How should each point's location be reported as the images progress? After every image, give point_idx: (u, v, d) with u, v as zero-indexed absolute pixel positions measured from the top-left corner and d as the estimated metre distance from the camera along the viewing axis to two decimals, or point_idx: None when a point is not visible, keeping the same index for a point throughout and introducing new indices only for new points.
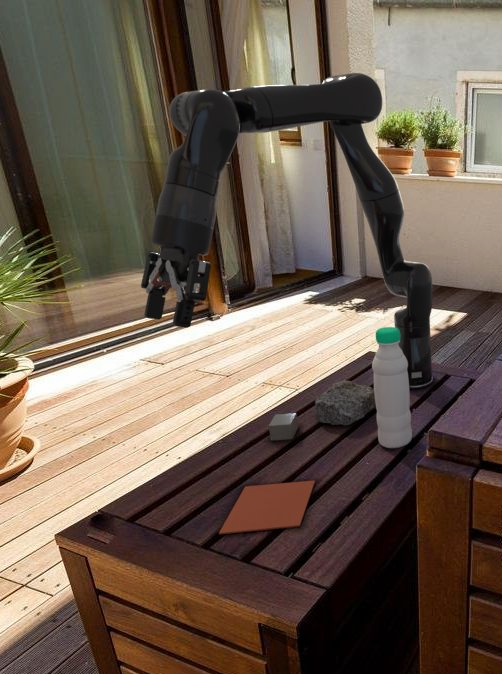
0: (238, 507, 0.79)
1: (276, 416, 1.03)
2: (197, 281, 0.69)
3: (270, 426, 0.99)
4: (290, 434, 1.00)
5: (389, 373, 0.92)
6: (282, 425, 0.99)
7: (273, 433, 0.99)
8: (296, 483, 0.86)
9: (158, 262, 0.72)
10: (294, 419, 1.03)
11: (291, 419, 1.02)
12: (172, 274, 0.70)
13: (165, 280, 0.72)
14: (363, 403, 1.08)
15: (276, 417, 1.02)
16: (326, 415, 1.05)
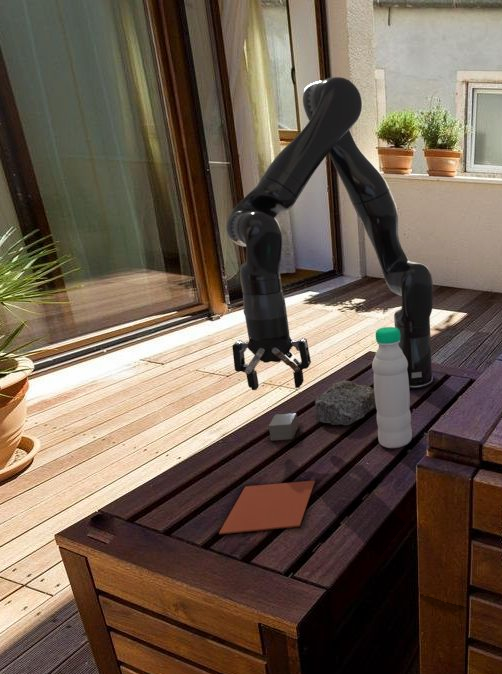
0: (238, 507, 0.79)
1: (276, 416, 1.03)
2: (307, 354, 0.98)
3: (270, 426, 0.99)
4: (290, 434, 1.00)
5: (389, 373, 0.92)
6: (282, 425, 0.99)
7: (273, 433, 0.99)
8: (296, 483, 0.86)
9: (260, 351, 0.94)
10: (294, 419, 1.03)
11: (291, 419, 1.02)
12: (283, 356, 0.96)
13: (269, 361, 0.96)
14: (363, 403, 1.08)
15: (276, 417, 1.02)
16: (326, 415, 1.05)
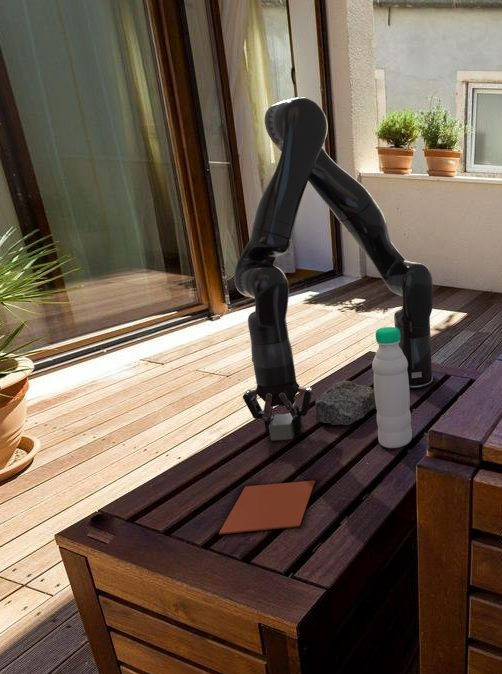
0: (238, 507, 0.79)
1: (276, 416, 1.03)
2: (309, 402, 1.01)
3: (270, 426, 0.99)
4: (290, 434, 1.00)
5: (389, 373, 0.92)
6: (282, 425, 0.99)
7: (273, 433, 0.99)
8: (296, 483, 0.86)
9: (268, 396, 0.97)
10: None
11: (291, 419, 1.02)
12: (287, 402, 0.99)
13: (276, 405, 0.99)
14: (363, 403, 1.08)
15: (276, 417, 1.02)
16: (326, 415, 1.05)
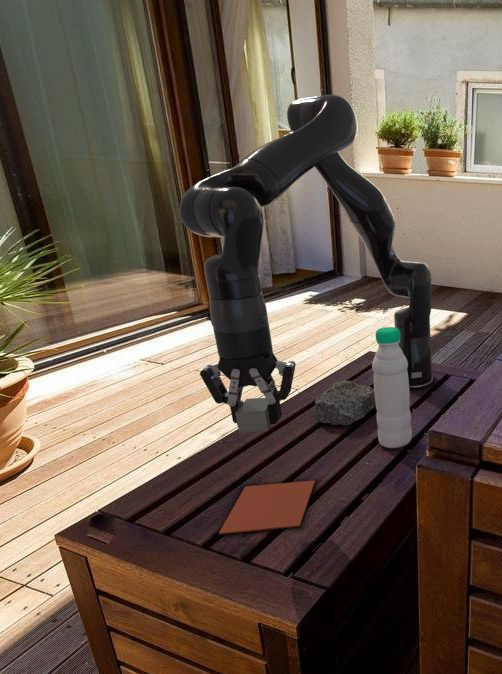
0: (238, 507, 0.79)
1: (247, 401, 0.77)
2: (290, 382, 0.76)
3: (237, 413, 0.74)
4: (265, 424, 0.75)
5: (389, 373, 0.92)
6: (254, 413, 0.74)
7: (241, 422, 0.74)
8: (296, 483, 0.86)
9: (234, 373, 0.72)
10: None
11: (267, 404, 0.76)
12: (260, 381, 0.74)
13: (246, 385, 0.74)
14: (363, 403, 1.08)
15: (247, 402, 0.77)
16: (326, 415, 1.05)
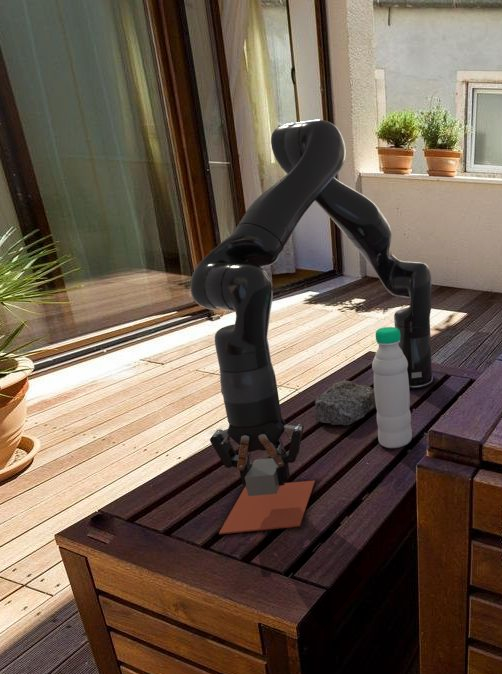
0: (238, 507, 0.79)
1: (256, 462, 0.79)
2: (298, 445, 0.77)
3: (247, 478, 0.75)
4: (273, 487, 0.76)
5: (389, 373, 0.92)
6: (263, 477, 0.75)
7: (250, 486, 0.75)
8: (296, 483, 0.86)
9: (244, 439, 0.73)
10: None
11: (275, 467, 0.77)
12: (269, 446, 0.75)
13: (255, 449, 0.75)
14: (363, 403, 1.08)
15: (256, 463, 0.78)
16: (326, 415, 1.05)
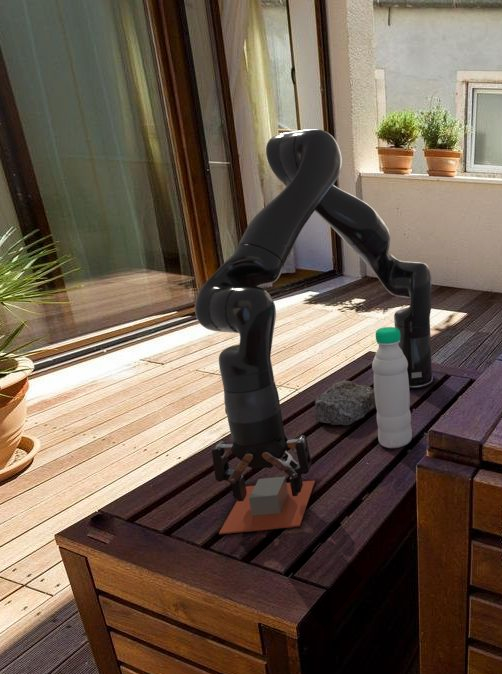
0: (238, 507, 0.79)
1: (259, 482, 0.80)
2: (307, 455, 0.78)
3: (251, 498, 0.76)
4: (277, 507, 0.77)
5: (389, 373, 0.92)
6: (267, 497, 0.77)
7: (254, 506, 0.77)
8: None
9: (247, 457, 0.74)
10: (283, 486, 0.80)
11: (279, 487, 0.79)
12: (276, 461, 0.76)
13: (258, 466, 0.76)
14: (363, 403, 1.08)
15: (260, 483, 0.80)
16: (326, 415, 1.05)
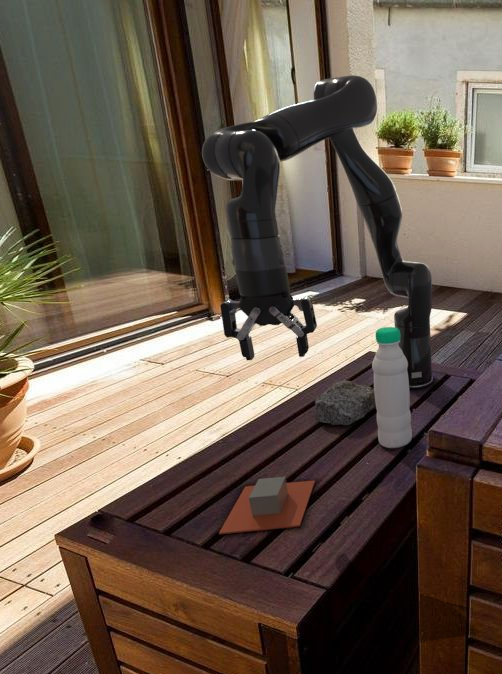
0: (238, 507, 0.79)
1: (259, 482, 0.80)
2: (312, 315, 0.80)
3: (251, 498, 0.76)
4: (277, 507, 0.77)
5: (389, 373, 0.92)
6: (267, 497, 0.77)
7: (254, 506, 0.77)
8: (296, 483, 0.86)
9: (255, 311, 0.77)
10: (283, 486, 0.80)
11: (279, 487, 0.79)
12: (283, 317, 0.78)
13: (266, 323, 0.79)
14: (363, 403, 1.08)
15: (260, 483, 0.80)
16: (326, 415, 1.05)
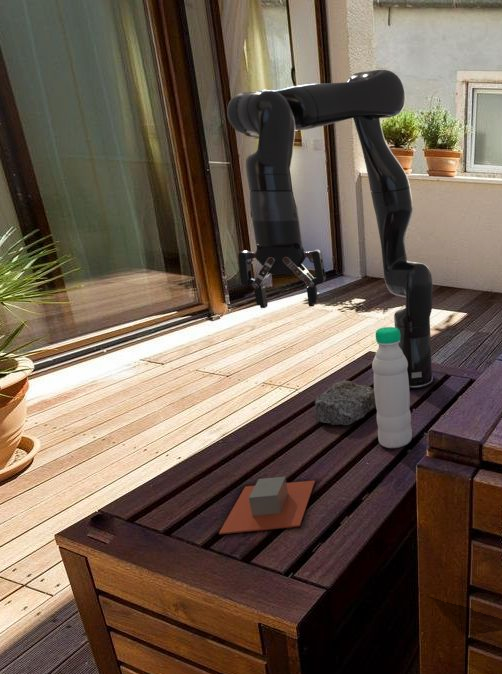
0: (238, 507, 0.79)
1: (259, 482, 0.80)
2: (322, 267, 0.87)
3: (251, 498, 0.76)
4: (277, 507, 0.77)
5: (389, 373, 0.92)
6: (267, 497, 0.77)
7: (254, 506, 0.77)
8: (296, 483, 0.86)
9: (269, 260, 0.83)
10: (283, 486, 0.80)
11: (279, 487, 0.79)
12: (295, 267, 0.85)
13: (279, 273, 0.85)
14: (363, 403, 1.08)
15: (260, 483, 0.80)
16: (326, 415, 1.05)
